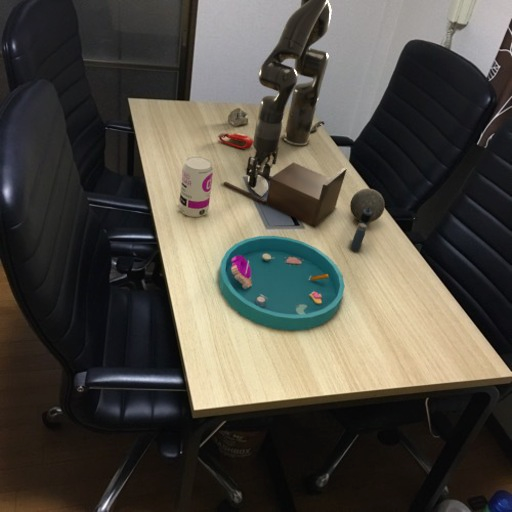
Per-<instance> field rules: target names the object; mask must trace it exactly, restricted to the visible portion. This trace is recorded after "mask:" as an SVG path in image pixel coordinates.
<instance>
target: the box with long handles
mask: <svg viewBox="0 0 512 512" xmlns="http://www.w3.org/2000/svg"><path fill="white" fill-rule="evenodd" d="M250 170H251V169H250ZM256 171H257V169H256ZM255 173H256V172H255ZM262 173H263V171H260V172H259V174H258V175H259V176H262ZM346 173H347V167H342V168H341V169H340V170H339V171H338V172H336V173H334V175H333V176H331V177H329V176H326V175H324V174H321V173H319V172H317V171H314V170H312V169H310V168H308V167H305V166H303V165H301V164H298V163H296V162H292V163H290V164H288V165H287V166H286V167H284V168H283V169H281V170H280V171H278V172H277V173H275V174H274V175H272V176H271V175H269V178H268V179H267V181H269V185H268V190H267V191H268V192H267V196H266V200H265V199H264V198H262V197H261V196H258V195H255V194H253V193H252V192H249V191H247V190H244V189H243V188H240V187H238V186H236V185H234V184H232V183H230V182H227V181H224V182H223V186H224V187H226V188H228V189H230V190H232V191H234V192H236V193H239V194H241V195H243V196H245V197H248V198H250V199H251V200H253V201H256V202H258V203H259V204H262V205H267V206H268V207H271V208H272V209H275V210H277V211H279V212H281V213H282V214H286V215H287V216H289V217H292V218H293V219H296V220H298V221H300V222H302V223H304V224H307V225H309V226H311V227H313V228H317V226H318V225H319V224H320V223H321V222H322V221H323V220H325V219H326V218H327V217H328V216H329V215H330V214H331V213H332V212H333V211H334V210H335V209H336V206H337V202H338V199H339V197H340V193H341V190H342V186H343V183H344V179H345V176H346Z"/></svg>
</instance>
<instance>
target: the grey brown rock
mask: <svg viewBox="0 0 512 512" xmlns="http://www.w3.org/2000/svg"><path fill="white" fill-rule="evenodd" d="M248 114H249V113H247V112H245V110H242V108H240V107H237V108H235V109H233V110H232V111H230V113H229V114H228V116H227V122H229V123H230V124H231V125H232V126H234V127H239V126H241V125H248V124H249V118H248V117H246V116H247V115H248Z"/></svg>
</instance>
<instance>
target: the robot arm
mask: <svg viewBox="0 0 512 512" xmlns="http://www.w3.org/2000/svg"><path fill="white" fill-rule="evenodd" d="M331 15H332V8H331V4H330V1H329V0H301V1H300V7H299V8H297V10H295V11H294V12H293V13H292V14H291V15H290V17H289V18H288V19H287V21H286V23H285V25H284V28H283V30H282V32H281V35H280V38H279V40H278V42H277V43H276V45H275V46H274V48H273V49H272V51H271V53H269V55H268V56H267V57H266V59H265V60H264V62H263V63H262V64H261V66H260V68H259V72H258V82H259V83H260V85H262V86H263V87H265V88H268V89H271V90H273V91H276V92H277V94H276V95H264V96H263V97H262V98H261V101H260V105H259V110H258V111H259V112H258V117H257V120H256V122H255V123H256V124H255V129H254V133H253V134H254V135H253V144H252V147H253V148H254V149H255V153H254V155H253V156H248V160H247V165H246V170H245V176H247V177H249V176H250V178H249V182H248V186H249V188H251V187H252V188H254V187H256V182H257V176H258V174H259V172H260V171H261V172H263V173H262V175H263V176H262V177H263V178H266V180H268V178H269V176H271V175H270V174H271V169H273V166H274V165H276V163H277V158H278V152H279V143H280V140H281V139H280V138H281V134H282V129H283V120H284V115H285V109H286V106H287V104H288V102H289V99H290V97H291V100H290V106H289V110H288V115H287V120H286V125H285V129H283V140H284V141H285V142H286V143H288V144H290V145H293V146H298V147H301V146H302V147H303V146H307V145H308V144H309V139H310V134H312V133H314V132H316V131H317V130H318V126H319V125H321V124H322V125H325V124H326V123H325V122H324V121H323V120H320V121H318V122H316V123H315V124H314V126H313V122H314V118H315V114H316V110H317V105H318V101H319V97H320V91H321V87H322V84H323V80H324V76H325V74H326V70H327V66H328V63H329V54H328V52H327V51H324V50H321V49H317V48H312V47H311V46H312V45H314V44H315V43H317V42H318V41H320V40H321V39H322V38H323V37H324V36H325V35H326V34H327V32H328V30H329V28H330V23H331V17H332V16H331ZM286 60H294V67H292V66H289V65H286V64H284V63H283V62H284V61H286ZM298 75H299V76H302V77H305V78H310V79H312V80H311V81H308V82H302V83H298ZM297 83H298V84H297ZM291 95H292V96H291ZM312 127H314V128H313V129H312ZM250 169H251V170H250ZM256 170H257V171H256ZM263 170H264V171H263ZM255 172H256V173H255ZM266 172H267V174H266ZM265 176H266V177H265ZM252 188H251V189H252Z"/></svg>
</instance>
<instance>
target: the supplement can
mask: <svg viewBox="0 0 512 512" xmlns="http://www.w3.org/2000/svg"><path fill="white" fill-rule="evenodd" d="M213 175H214V167H213V165H212V162H211V161H210V160H209V159H208V158H206V157H203V156H198V155H197V156H196V155H195V156H190V157H187V158H186V159H185V161H184V163H183V164H182V167H181V177H180V190H179V191H180V192H179V204H178V207H179V210H180V212H181V213H183V215H186V216H188V217H191V218H197V217H198V218H199V217H203V216H204V215H206V214H207V213H209V209H210V200H211V192H212V184H213Z"/></svg>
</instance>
